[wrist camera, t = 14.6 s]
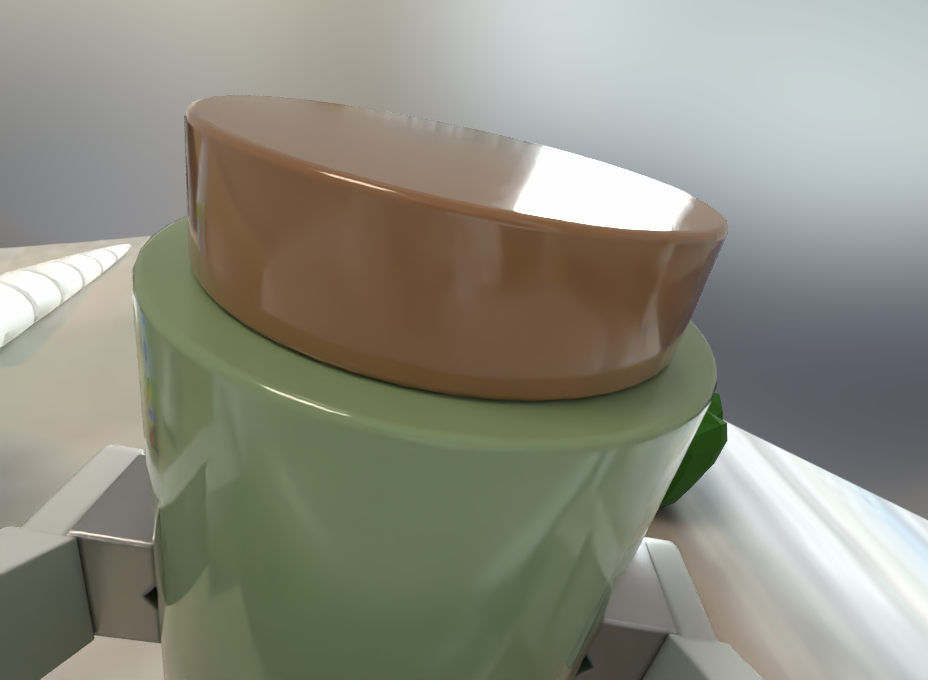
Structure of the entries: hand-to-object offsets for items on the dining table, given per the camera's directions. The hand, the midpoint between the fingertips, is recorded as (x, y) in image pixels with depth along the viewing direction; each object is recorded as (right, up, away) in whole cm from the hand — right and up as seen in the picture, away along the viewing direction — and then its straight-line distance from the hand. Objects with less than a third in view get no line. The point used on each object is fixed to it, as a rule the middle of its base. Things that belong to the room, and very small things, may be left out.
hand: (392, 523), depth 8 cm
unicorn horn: (-33, +6, +36) cm, 49 cm away
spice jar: (-1, -6, +2) cm, 7 cm away
